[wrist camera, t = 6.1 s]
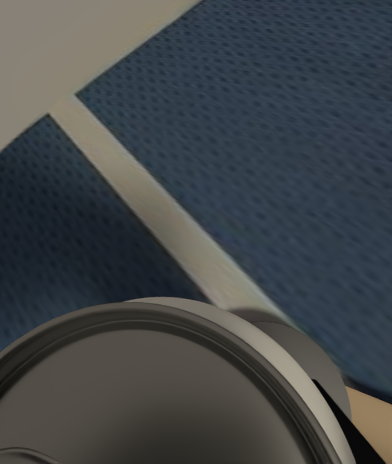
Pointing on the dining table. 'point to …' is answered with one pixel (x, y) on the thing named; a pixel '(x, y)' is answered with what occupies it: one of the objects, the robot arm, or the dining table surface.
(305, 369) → the subfloor panel
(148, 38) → the dining table surface
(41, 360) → the can
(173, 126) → the dining table surface
